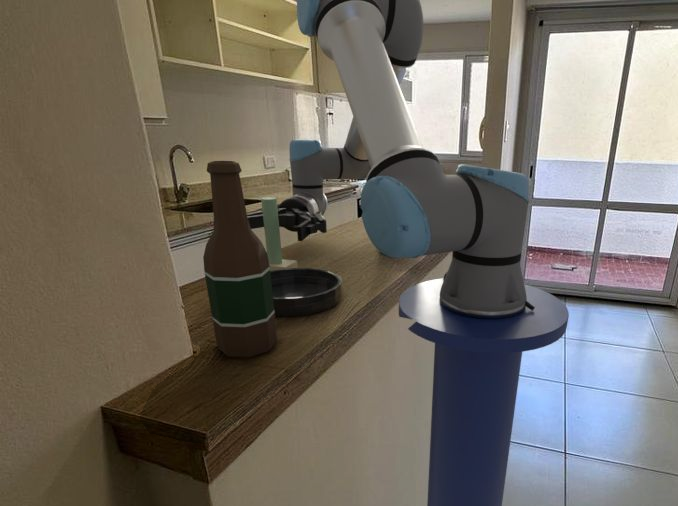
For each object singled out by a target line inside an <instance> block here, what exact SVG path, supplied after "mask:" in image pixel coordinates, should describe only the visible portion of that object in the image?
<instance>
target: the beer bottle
mask: <svg viewBox="0 0 678 506" xmlns="http://www.w3.org/2000/svg"><path fill="white" fill-rule="evenodd" d="M242 171H243V170H242V168H241V165H240V163H239V162H237V161H234V160H212V161H209V162H207V165H206V172H207V173H208V174H209V176H210V187H211V188H210V189H211V199H212V200H211V201H212V211H213V230H212V233H211V235H210V236H209V238H208V240H207V242H206V244H205V247H204V252H203V270H204V277H205V283H206V289H207V290H206V291H207V295H208V301H209V307H210V314H211V321H212V325H213V332H214V336H215V340H216V346H217V348H218V349H219V350H220V351H221V353H223V354H224V355H225V356H227V357H228V358H253V357H255V356H258V355H261V354H262V355H263V354H265V353H267V352H270V350H271V349H272V348H273V346H274V345H275V343H276V342H277V340H278V337H277V322H276V316H275V311H274V302H273V293H272V284H271V274H270V266H269V260H268V255H267V249H266V248H265V247H264V244H263V242H262V241H261V239H260V238H259V236H257V235H256V233H255V232H254V231H253V229H251V227H250V224H249V221H248V218H247V207H246V202H245V198H244V191H243V187H242V181H241V176H240V174H241V172H242Z"/></svg>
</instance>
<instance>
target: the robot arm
mask: <svg viewBox="0 0 678 506" xmlns="http://www.w3.org/2000/svg"><path fill="white" fill-rule="evenodd" d="M296 18H297V25H298V29H299V32H301V34H302V35H304V36H307V37H309V38H312V37H313V38H315V37H316V39H317V42H318V45H319V48H320V50H321V51H322V53H323V54H324V55H325V56H326V58H328V59H329V60H331V61H333V62H334V64H335V67H336V70H337V73H338V76H339V79H340V82H341V84H342V87H343V90H344V93H345V96H346V99H347V102H348V105H349V108H350V110H351V113H352V120H351V123H350V125H349V129H348V133H347V135H346V139H345V142H344V146H343V147H323V146H322V143H321V140H319V139H307V138H294V139H292V140H290V142H289V150H288V151H289V164H290V175H291V176H290V177H291V184H292V187H291V189H292V196H290V197H288V198H286V199H284V200H283V201H281V202H280V203H279V205H278V206H277V208H278V219H279V228H284V229H286V230H287V231H289V232H292V233H293V232H294V233H296V234H297V235H296V236H297V242H303V241H304V240H305V239H306V238H308V237H309V236H310V235H312V234H317V233H318V231H319V232H320V233H322V234H326V233H327V232H328V229H327V228H328V227H327V219H326V218H325V217H324V215H325V213H326V211H327V210H328V198H327V196H326V194H325V192H324V181H327V180H328V181H329V180H330V181H331V180H364V179H365V183H364V186H363V187H362V190H361V193H360V201H359V205H360V206H359V207H360V209H361V211H362V213H361V220H362V224H363V227H364V230H365V232H366V235H367V236H368V238H369V240H370V242H371V244H372V245H373V246H374V247H375V249H376V250H378V251H379V252H380V254H383V255H385V256H387V257H389V258H393V259H401V258H402V259H403V258H409V259H417V258H420V257H423V256H430V255H438V254H445V253H451V252H452V253H451V254H452V255H451V261H450V264H449V266H448V269H447V271H446V272H445V273H444V275H443V277H442V278H443V280H444V281H443V280H442V281H443V284H442V286H441V290H440V299H439V301H440V304H441V305H442V306H443V307H444V308H445V309H446V310H448V311H450V312H452V313H455V314H458V315H461V316H465V317H469V318H476V319H488V320H494V319H506V318H511V317H514V316H517V315H519V314H521V313H522V312H524V310H525V308H526V307H528V308H529V309H530V310H532V311H533V310H534V308H535V307H534V306H533V305H531V304H530V303H529V302H527V299H526V298H527V297H526V290H525V285H524V284H525V281H524V277H523V272H522V267H521V260H522V254H523V253H522V251H523V245H524V236H525V230H526V224H527V223H526V222H527V214H528V208H529V203H530V199H529V192H530V182H529V178H528V176H526V174H524V173H523V172H516V171H509V170H503V169H498V168H489V167H485V166H484V167H483V166H477V165H471V164H464V163H463V164H462V163H461V164H458V166H457V169H456V171H455V174H445V173H444V171H443V168H442V166H441V163H440V161H439V157H438V156H437V154H436V153H435V152H433V151H432V150H430V149H429V148H424V147H423V143H422V142H421V139H420V136H419V133H418V131H417V128H416V125H415V123H414V121H413V118H412V114H411V113H410V109H409V107H408V104H407V102H406V99H405V97H404V94H403V92H402V89H401V86H402V83H403V81H404V78H405V75H406V73H407V70H408V69H409V68H411V67H413V66H414V65H415V64H416V61H417V60H418V59H417V58H418V57H419V53H420V51H421V48H422V44H423V38H424V14H423V7H422V5H421V0H296ZM246 213H247V212H246ZM247 218H248V221H249V224H250V227H251V230H255V229H261V228H264V221H263V212H262V209H261V210H260V209H259V210H258V211H253V212H248V213H247Z"/></svg>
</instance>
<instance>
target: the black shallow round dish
mask: <svg viewBox="0 0 678 506" xmlns="http://www.w3.org/2000/svg"><path fill="white" fill-rule="evenodd" d="M270 274H271V284H272V293H273V302H274V311H275V317H285V318H286V317H300V316H307V315H308V316H309V315H314V314H317V313H321V312H323V311H326V310H328V309H331V308H332V307H334V306H336V305H337V304H338V302H339V301H340V300H341V299H342V296H343V281H342V278H341V277H340V276H339V275H338V274H336V273H334V272H332V271H328V270H326V269H325V270H324V269H321V268H320V269H319V268H310V267H298V268H290V269H279V270H274V271H270Z"/></svg>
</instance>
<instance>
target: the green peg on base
mask: <svg viewBox="0 0 678 506" xmlns="http://www.w3.org/2000/svg"><path fill="white" fill-rule="evenodd" d="M260 201H261V210H262V212H263V221H264V227H263V228H264V229H263V231H264V239H265V247H266V248H265V250H266V252H267V255H268V260H269V266H270V271H274V270H279V269H290V268H299V267H298V260H296V259H295V260H294V259H285V258H283V253H282V252H283V251H282V242H281V232H280V227H279V219H278V199H277V197H272V196H271V197H268V196H267V197H261V198H260Z"/></svg>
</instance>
